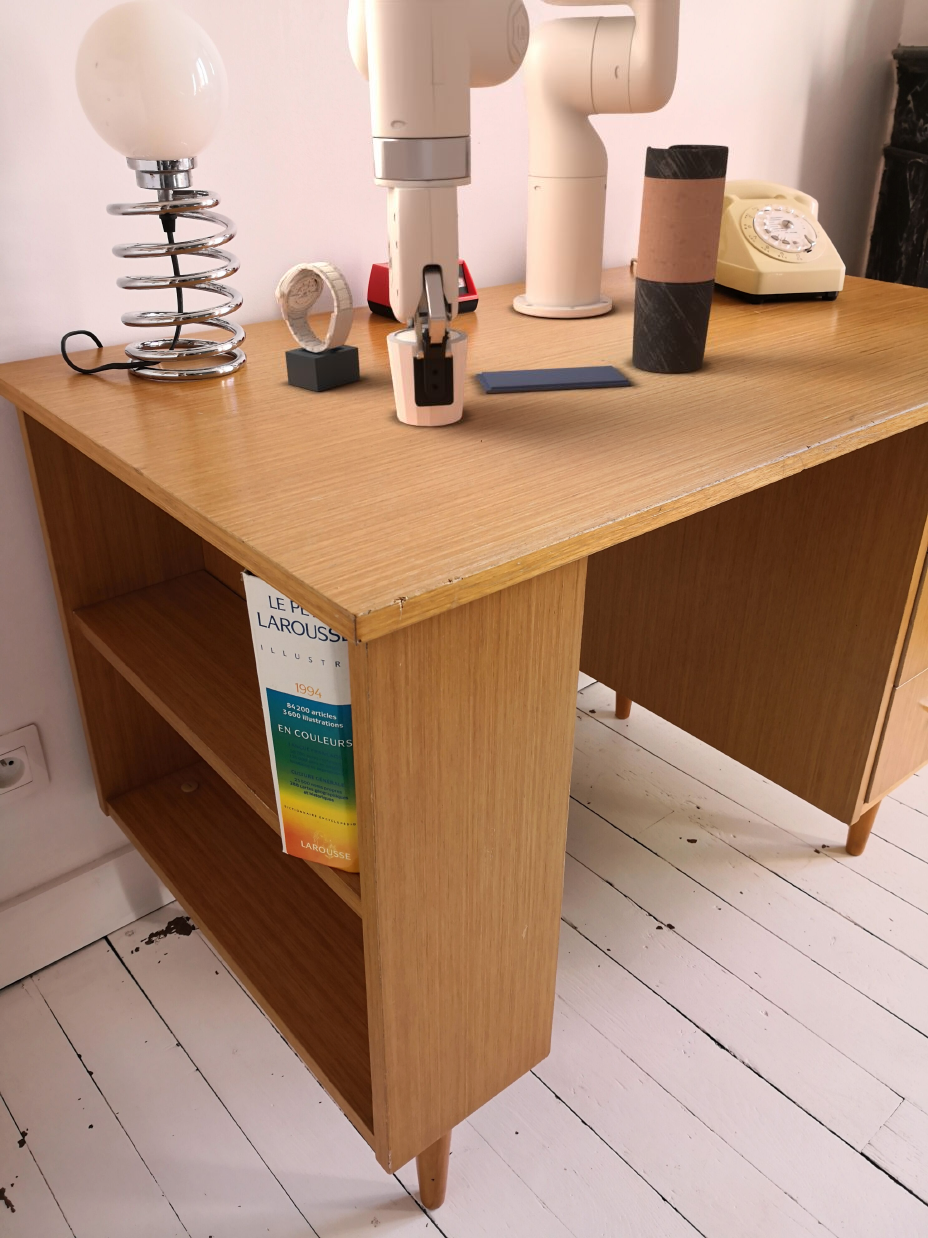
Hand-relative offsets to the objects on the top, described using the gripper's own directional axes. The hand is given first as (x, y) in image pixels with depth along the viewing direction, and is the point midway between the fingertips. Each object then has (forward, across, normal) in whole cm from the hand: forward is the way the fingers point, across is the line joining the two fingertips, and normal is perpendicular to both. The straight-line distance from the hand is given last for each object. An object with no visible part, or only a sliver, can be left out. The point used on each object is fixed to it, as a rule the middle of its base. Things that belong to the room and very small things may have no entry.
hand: (429, 390), depth 82 cm
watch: (+2, -13, -9) cm, 16 cm away
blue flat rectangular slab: (+2, -9, +13) cm, 16 cm away
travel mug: (+2, -13, +26) cm, 29 cm away
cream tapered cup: (+2, 0, 0) cm, 2 cm away
